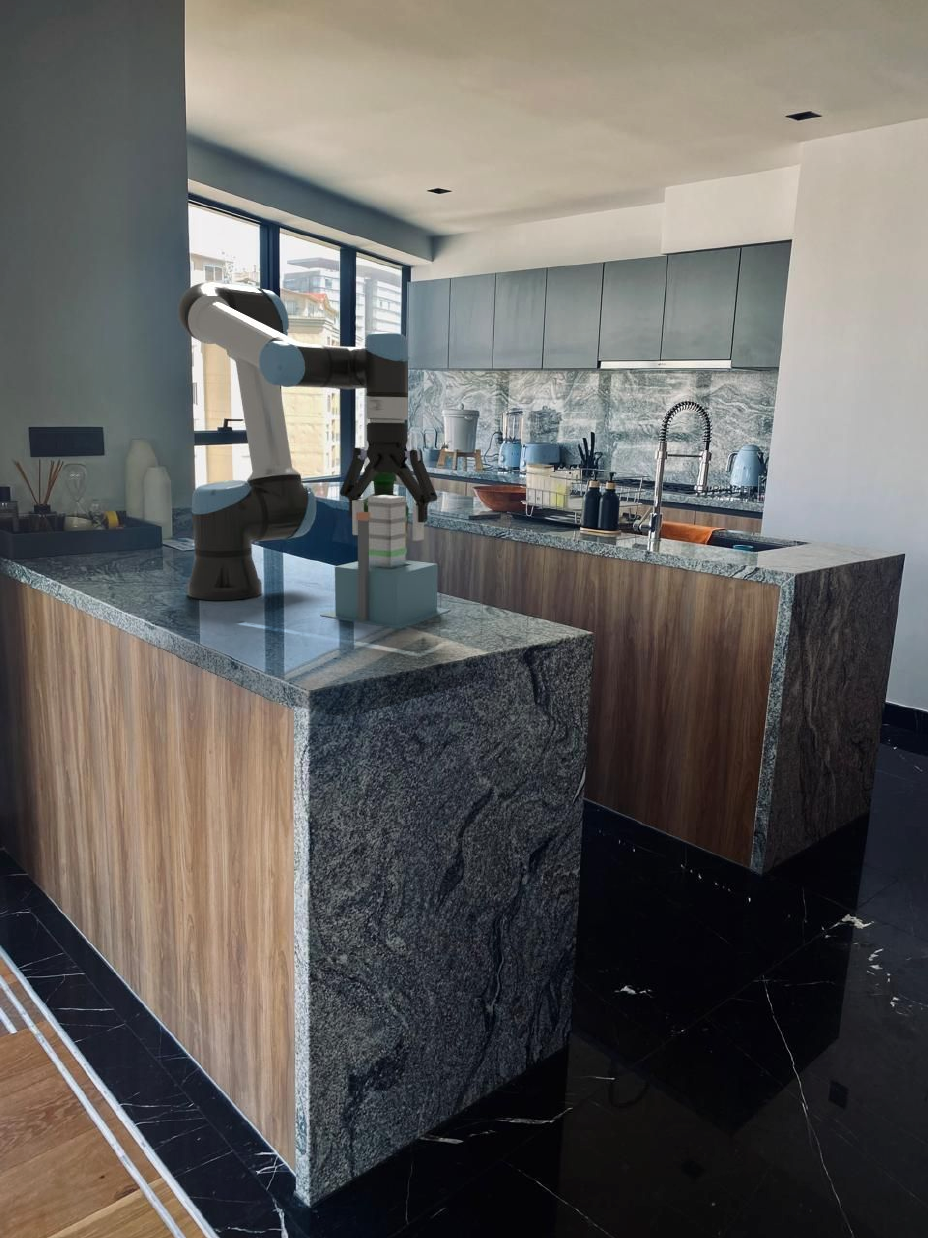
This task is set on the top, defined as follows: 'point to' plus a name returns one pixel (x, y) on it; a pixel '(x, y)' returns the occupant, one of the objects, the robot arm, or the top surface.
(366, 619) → the stand base
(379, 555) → the column
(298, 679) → the top surface
